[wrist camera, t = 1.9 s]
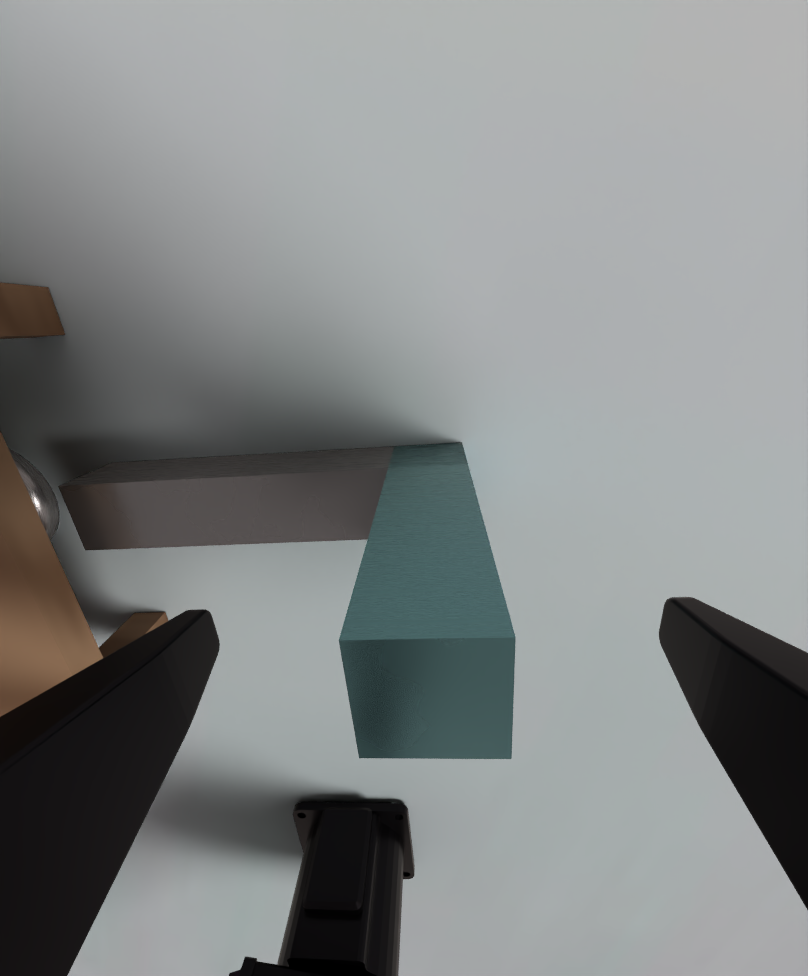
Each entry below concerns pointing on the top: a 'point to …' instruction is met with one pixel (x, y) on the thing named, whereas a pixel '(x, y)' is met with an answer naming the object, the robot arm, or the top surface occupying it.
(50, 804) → the robot arm
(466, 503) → the teal angled piece
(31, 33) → the top surface
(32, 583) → the stand
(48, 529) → the disc
